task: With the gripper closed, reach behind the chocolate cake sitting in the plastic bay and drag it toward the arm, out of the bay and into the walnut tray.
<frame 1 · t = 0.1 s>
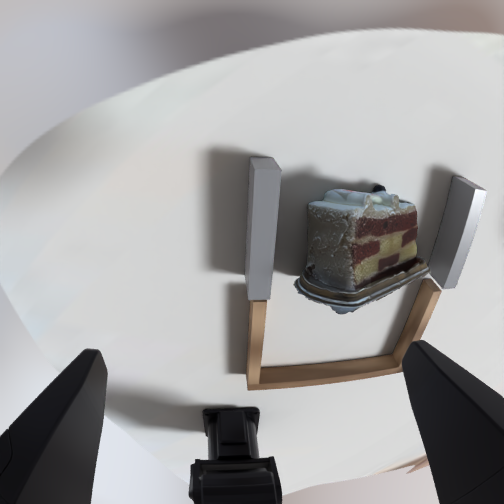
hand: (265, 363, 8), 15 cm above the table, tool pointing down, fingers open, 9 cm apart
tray: (339, 331, 29), on the table
bay: (366, 222, 23), on the table
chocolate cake: (363, 224, 24), on the table
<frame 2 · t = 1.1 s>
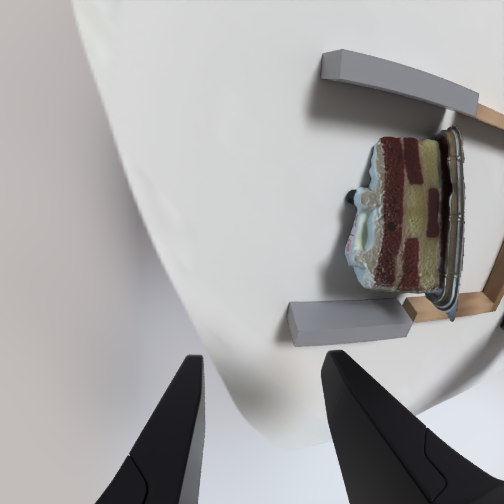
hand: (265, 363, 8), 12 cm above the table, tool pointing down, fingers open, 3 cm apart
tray: (481, 218, 21), on the table
bay: (371, 207, 20), on the table
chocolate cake: (389, 202, 20), on the table
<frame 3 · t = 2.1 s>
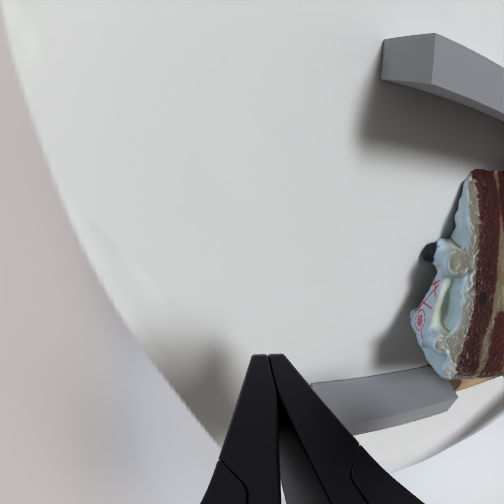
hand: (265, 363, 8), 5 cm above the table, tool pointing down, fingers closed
bay: (430, 268, 13), on the table
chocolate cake: (465, 252, 14), on the table
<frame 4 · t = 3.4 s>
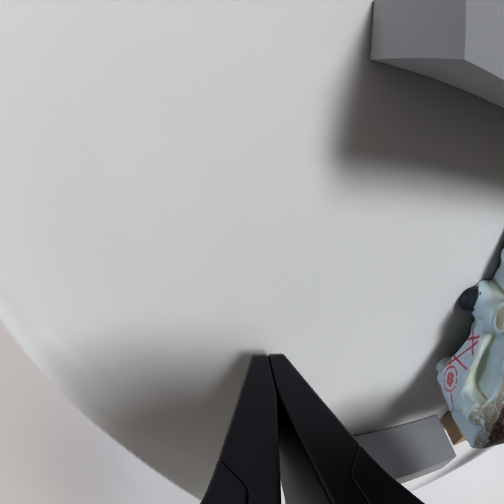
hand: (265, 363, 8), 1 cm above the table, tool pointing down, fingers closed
bay: (434, 325, 10), on the table
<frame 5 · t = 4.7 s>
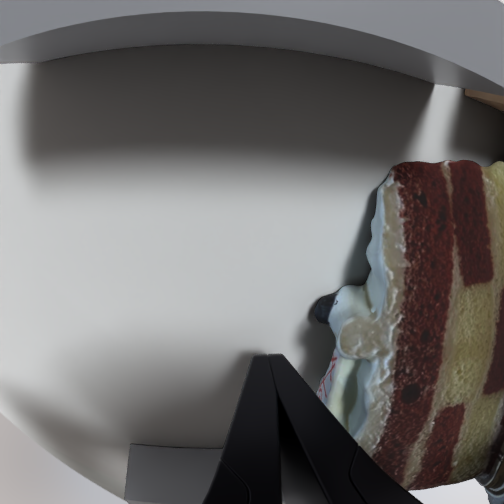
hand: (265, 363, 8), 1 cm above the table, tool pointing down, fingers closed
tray: (496, 315, 10), on the table
bay: (228, 339, 9), on the table
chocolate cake: (409, 295, 9), on the table, touching gripper
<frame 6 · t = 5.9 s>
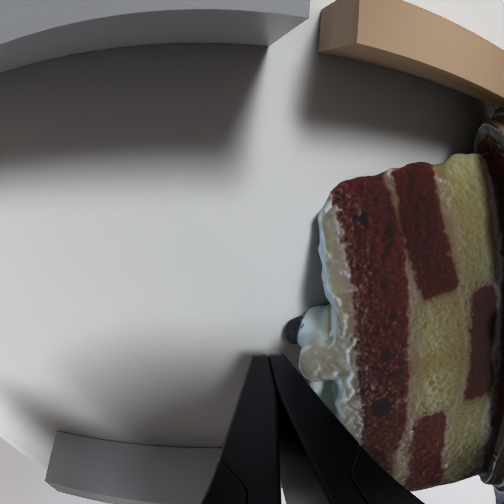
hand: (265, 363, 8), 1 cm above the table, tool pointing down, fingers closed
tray: (431, 324, 10), on the table
bay: (95, 333, 9), on the table
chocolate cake: (389, 300, 10), on the table
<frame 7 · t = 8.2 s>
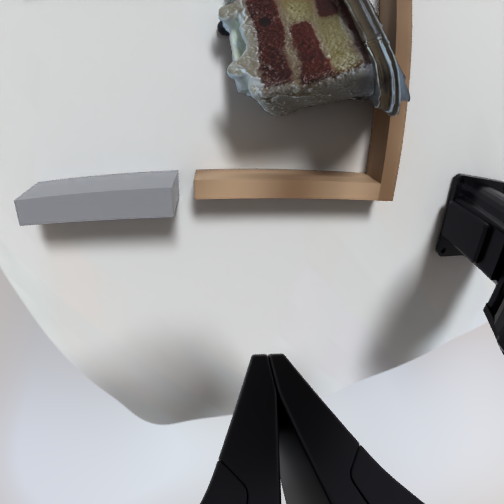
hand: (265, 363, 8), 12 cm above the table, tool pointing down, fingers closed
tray: (302, 39, 14), on the table
bay: (95, 46, 13), on the table
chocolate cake: (283, 24, 14), on the table
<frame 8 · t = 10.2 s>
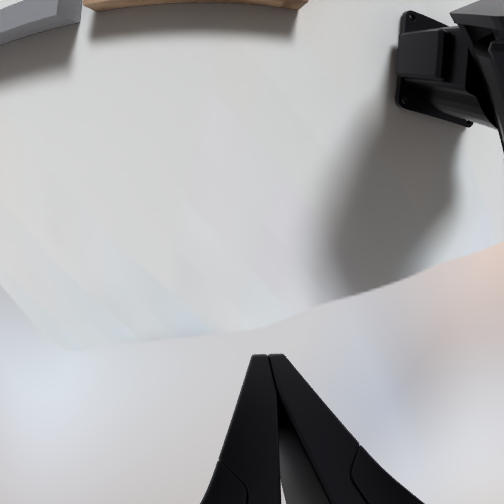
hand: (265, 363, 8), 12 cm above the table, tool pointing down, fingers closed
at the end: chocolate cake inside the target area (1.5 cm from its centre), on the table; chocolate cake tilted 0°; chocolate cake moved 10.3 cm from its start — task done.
